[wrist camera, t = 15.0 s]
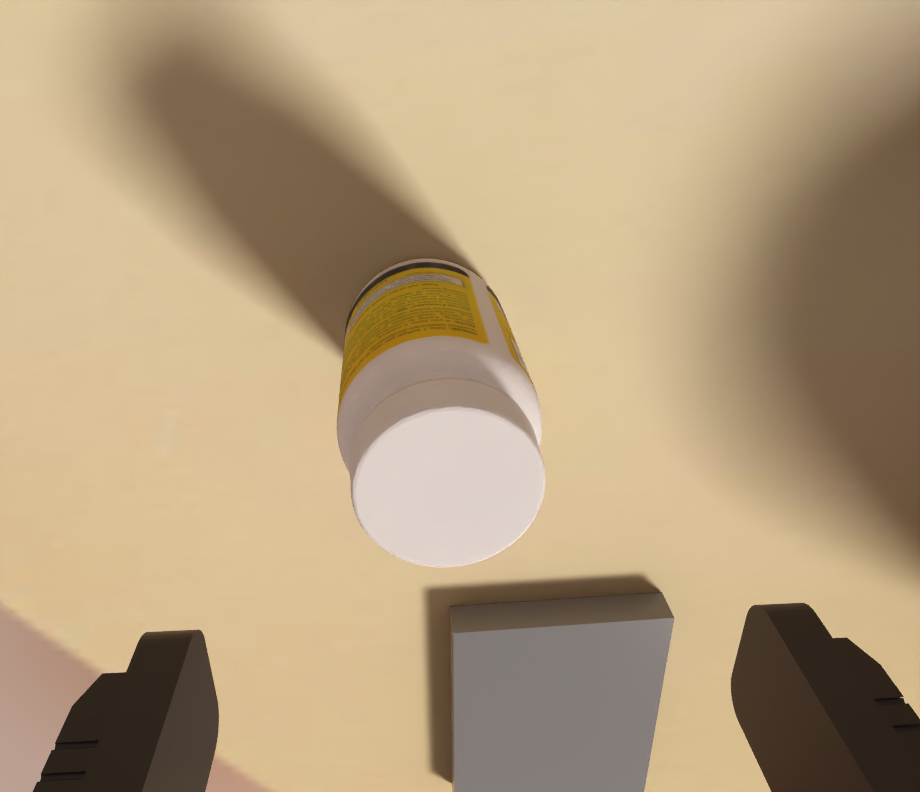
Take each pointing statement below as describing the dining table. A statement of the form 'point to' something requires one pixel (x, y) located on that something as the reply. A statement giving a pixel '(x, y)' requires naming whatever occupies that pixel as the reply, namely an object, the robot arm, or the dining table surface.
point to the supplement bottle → (438, 417)
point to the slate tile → (557, 693)
